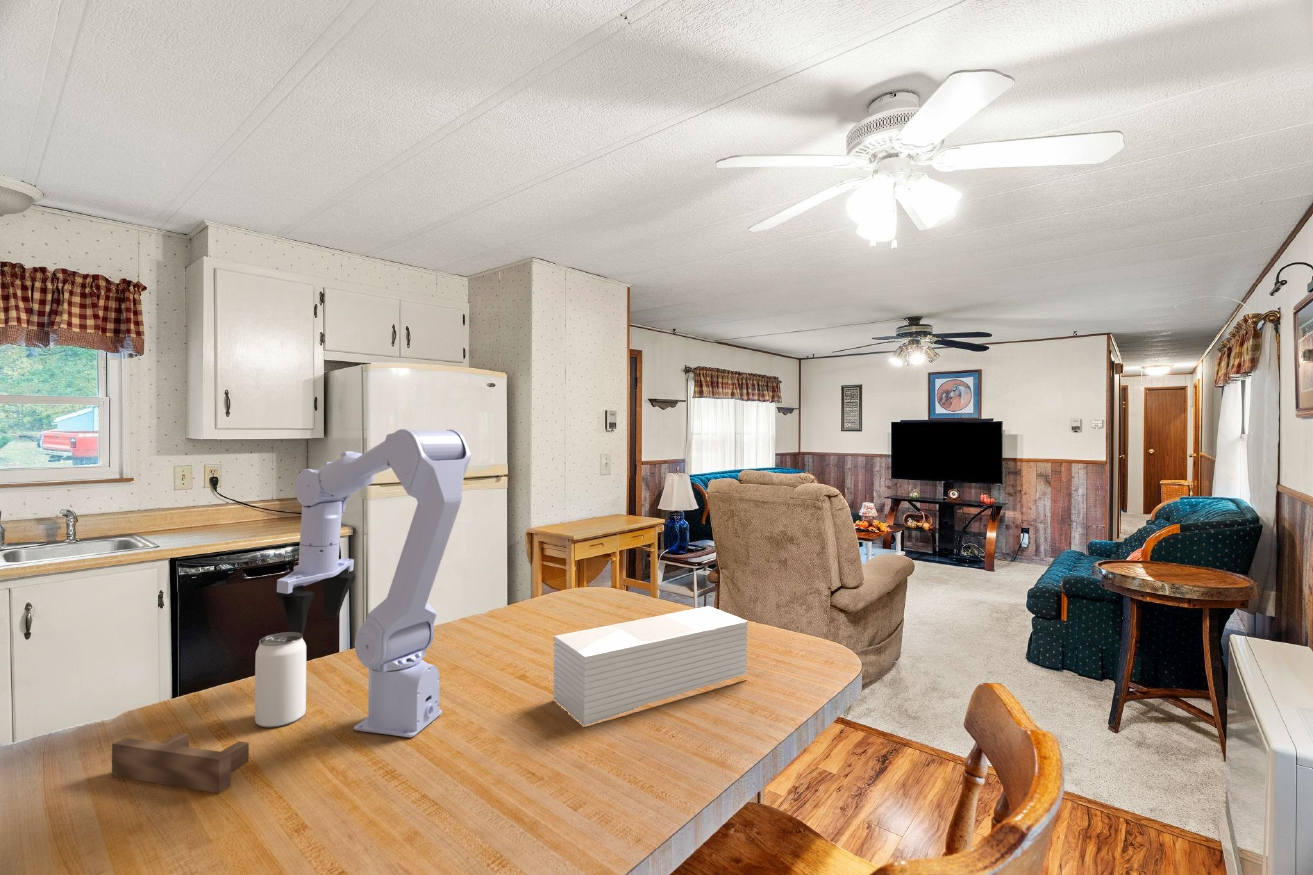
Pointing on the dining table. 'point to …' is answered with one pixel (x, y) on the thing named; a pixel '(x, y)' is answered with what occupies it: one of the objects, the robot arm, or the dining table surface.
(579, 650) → the stack of papers
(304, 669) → the can
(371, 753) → the dining table surface
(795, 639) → the dining table surface
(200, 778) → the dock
